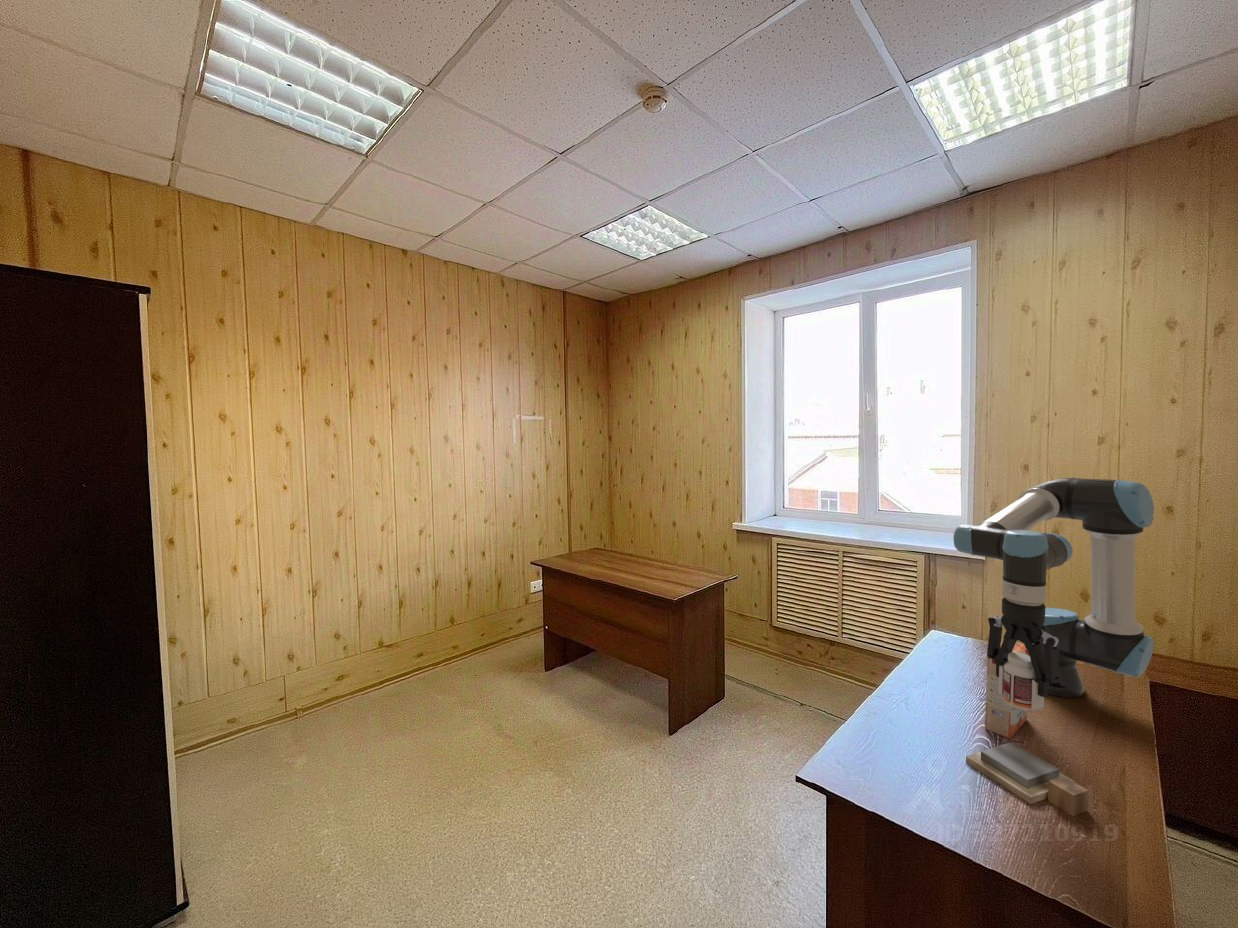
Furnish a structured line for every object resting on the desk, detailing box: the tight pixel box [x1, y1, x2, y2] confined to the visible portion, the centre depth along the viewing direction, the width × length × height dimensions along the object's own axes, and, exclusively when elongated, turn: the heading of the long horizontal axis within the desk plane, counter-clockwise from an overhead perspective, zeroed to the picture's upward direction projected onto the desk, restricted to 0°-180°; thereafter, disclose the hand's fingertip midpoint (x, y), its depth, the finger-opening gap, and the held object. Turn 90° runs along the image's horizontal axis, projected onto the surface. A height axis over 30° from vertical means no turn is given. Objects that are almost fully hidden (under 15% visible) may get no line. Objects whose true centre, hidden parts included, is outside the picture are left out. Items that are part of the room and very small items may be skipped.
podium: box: [965, 742, 1077, 805], centre depth 111 cm, size 14×14×4 cm
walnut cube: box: [1047, 776, 1089, 817], centre depth 102 cm, size 4×4×4 cm
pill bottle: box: [1003, 653, 1036, 712], centre depth 110 cm, size 6×6×11 cm
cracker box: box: [984, 641, 1029, 740], centre depth 129 cm, size 14×6×21 cm, turn 126°
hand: (1020, 700), depth 110 cm, fingers closed on pill bottle, 6 cm apart
